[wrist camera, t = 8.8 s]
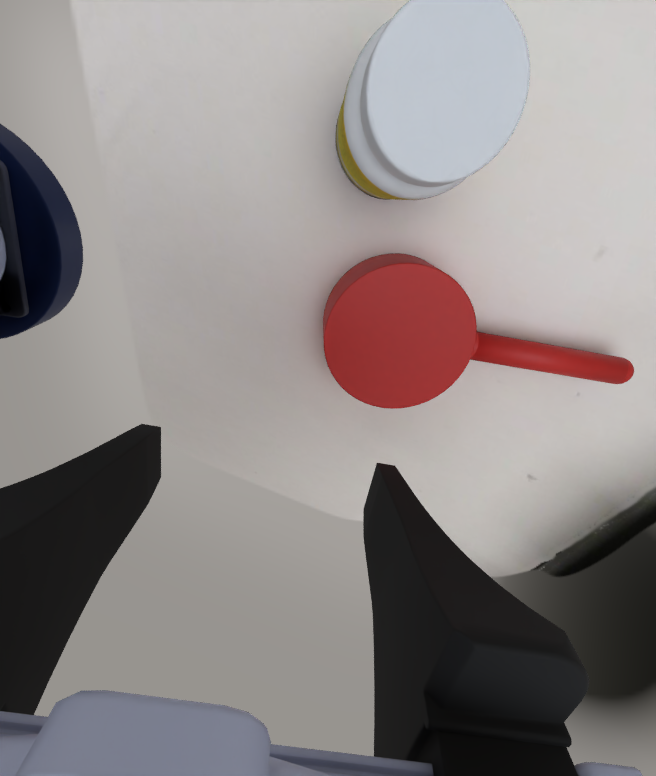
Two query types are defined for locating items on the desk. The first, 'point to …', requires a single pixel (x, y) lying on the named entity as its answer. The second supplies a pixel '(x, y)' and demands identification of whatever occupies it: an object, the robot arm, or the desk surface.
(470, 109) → the supplement bottle
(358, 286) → the red handled disc
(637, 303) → the desk surface
